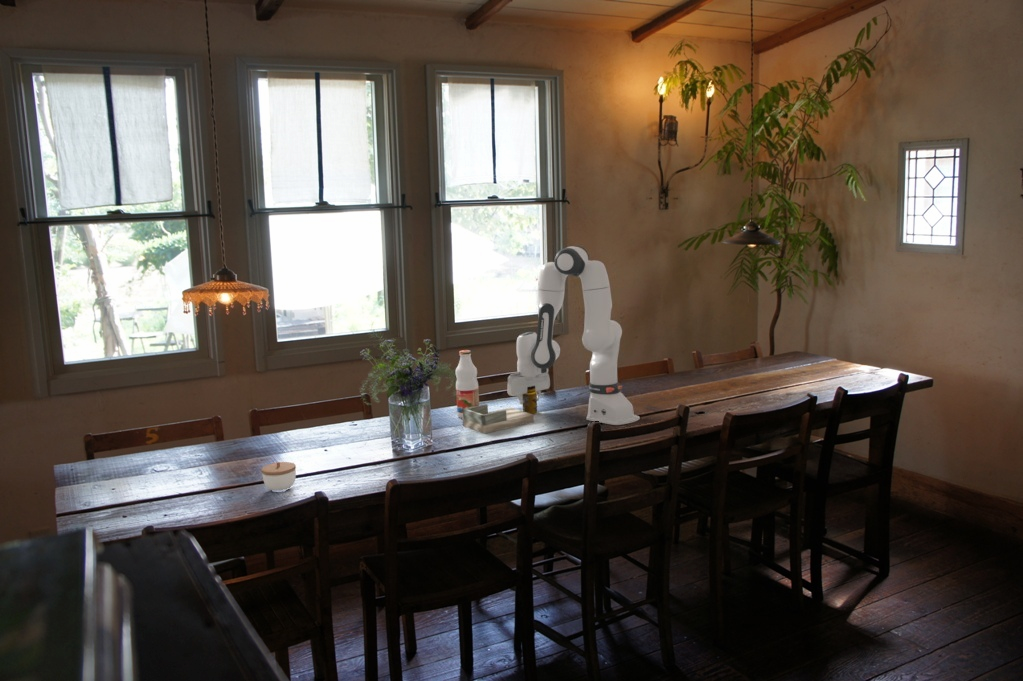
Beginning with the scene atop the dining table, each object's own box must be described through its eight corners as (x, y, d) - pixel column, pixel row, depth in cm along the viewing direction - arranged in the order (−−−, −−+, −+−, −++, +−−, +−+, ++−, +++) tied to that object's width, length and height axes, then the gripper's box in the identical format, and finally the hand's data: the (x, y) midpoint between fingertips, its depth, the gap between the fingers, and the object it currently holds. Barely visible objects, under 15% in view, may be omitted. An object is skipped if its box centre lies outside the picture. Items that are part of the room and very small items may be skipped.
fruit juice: (484, 416, 359) (480, 350, 354) (464, 420, 354) (460, 354, 349) (472, 412, 366) (469, 348, 362) (453, 415, 361) (449, 351, 357)
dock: (533, 421, 346) (533, 404, 345) (484, 433, 333) (483, 416, 331) (510, 414, 359) (510, 398, 358) (462, 425, 346) (461, 408, 344)
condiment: (541, 413, 359) (540, 385, 357) (524, 417, 354) (523, 388, 352) (531, 410, 365) (530, 382, 363) (515, 413, 360) (513, 386, 358)
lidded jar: (275, 483, 285) (272, 456, 283) (303, 485, 282) (301, 457, 280) (257, 494, 275) (254, 466, 273) (286, 496, 272) (283, 468, 270)
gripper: (512, 375, 348) (513, 408, 351) (551, 367, 360) (552, 399, 362) (503, 373, 354) (504, 405, 356) (542, 365, 365) (543, 397, 368)
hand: (529, 402), depth 359 cm, fingers closed on condiment, 6 cm apart
